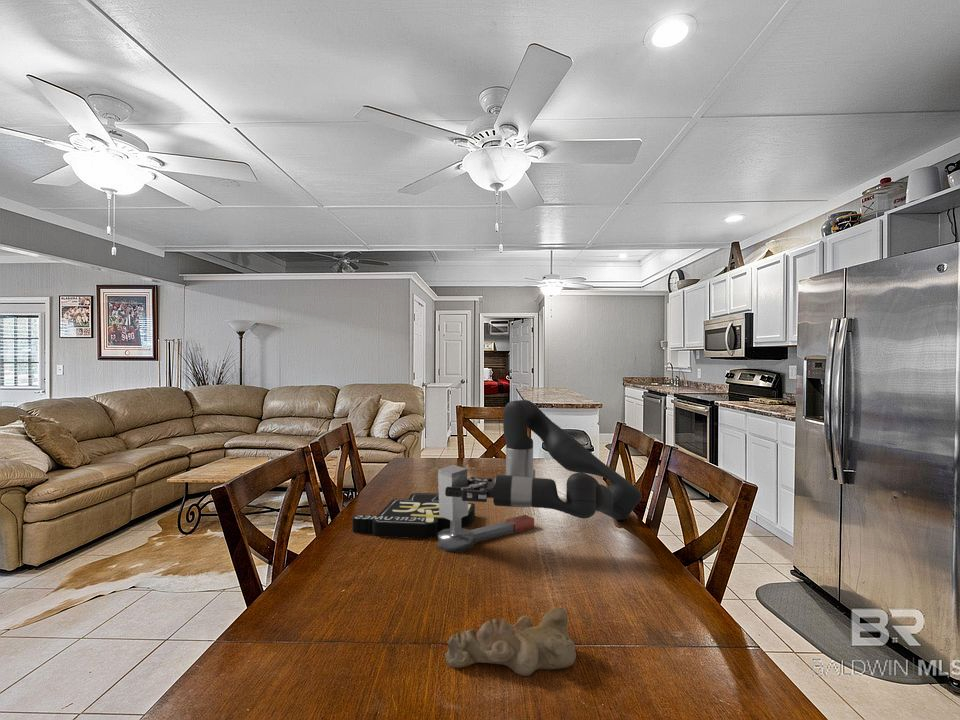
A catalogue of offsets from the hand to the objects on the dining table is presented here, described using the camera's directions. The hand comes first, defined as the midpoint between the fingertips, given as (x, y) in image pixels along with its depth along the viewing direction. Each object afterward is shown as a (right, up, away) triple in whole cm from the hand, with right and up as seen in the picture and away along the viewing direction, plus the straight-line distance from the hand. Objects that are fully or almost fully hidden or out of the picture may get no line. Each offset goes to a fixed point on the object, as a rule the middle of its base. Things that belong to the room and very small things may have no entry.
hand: (448, 487), depth 122 cm
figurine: (+12, -15, -46) cm, 50 cm away
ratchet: (+10, -15, +6) cm, 19 cm away
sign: (-10, -15, +20) cm, 27 cm away
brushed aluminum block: (+1, -7, 0) cm, 7 cm away
